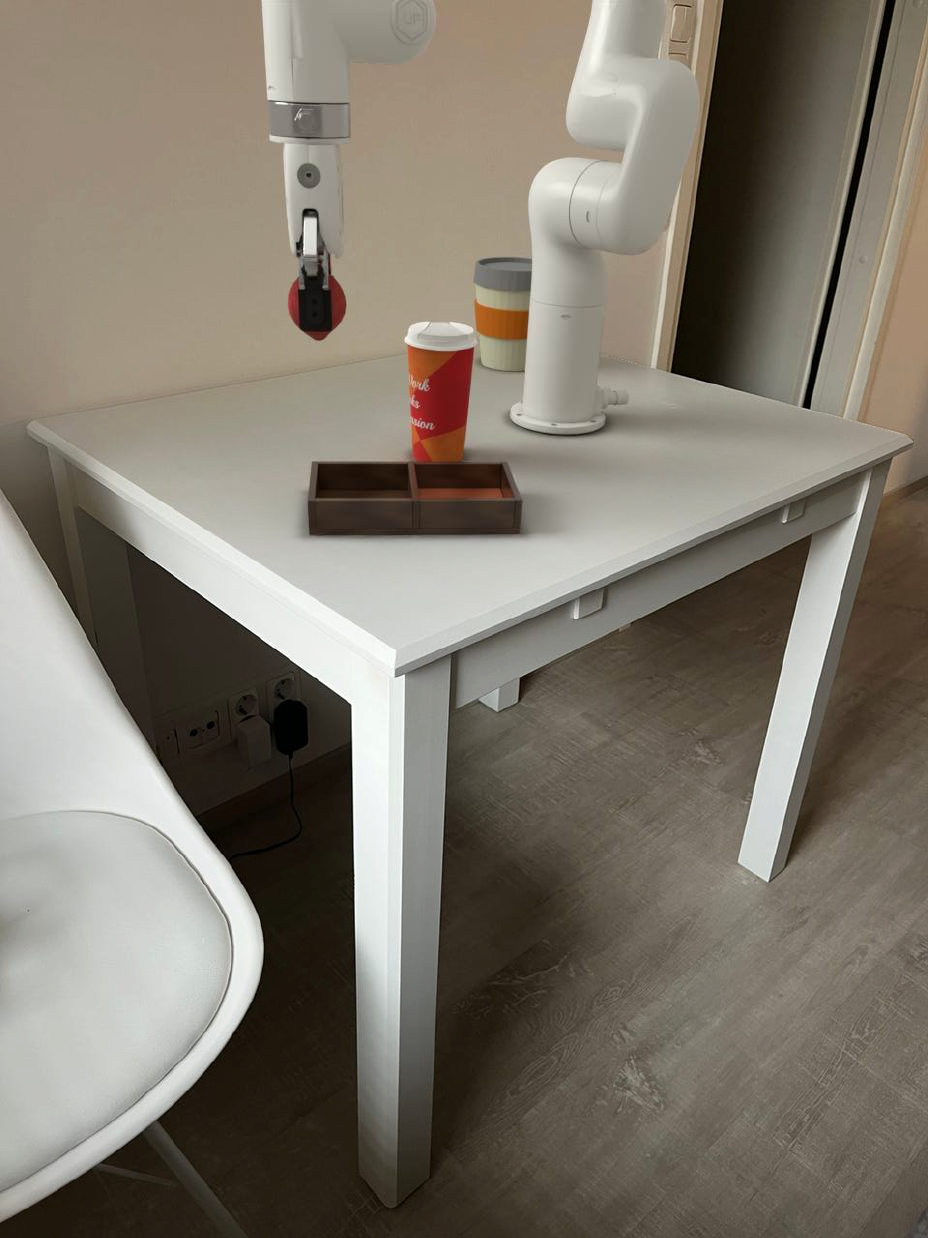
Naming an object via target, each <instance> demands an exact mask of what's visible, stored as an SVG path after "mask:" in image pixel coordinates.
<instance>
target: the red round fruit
mask: <svg viewBox="0 0 928 1238" xmlns="http://www.w3.org/2000/svg"><path fill="white" fill-rule="evenodd" d="M318 264H319V263H318ZM321 266H322V264H321ZM333 276H334V275H333V274H332V275H331V274H329V273H328V289H331V296H332V326H333V327H332V330H331V331H330V332H307V331H302V332H303V333H304V334H305V335H307V336H309V338H311V339H312V340H314V341H316V342H321V341H323V340H325V339H326V338H328V336H329V335H330V334H331V333H332V332H333V331H334V330H336V329H337V328H338V326H340V324H341V323H342V322H343V320H344V318H345V316H346V314H347V313H346V312H347V298H346V294H345V292H344V289H343V288H342V286H341V284H340V283H339V282H338V280H337V279H336V278H335V276H334V277H333ZM298 288H299V275H298V276H297V277H296V279H295V280H294V281H293V282H292V284H291V286H290V289H289V291H288V297H287V310H288V314H289V316H290V318H291V320H292V322H293V324H294V325H295V326H296V327H297V328H298V329H299V330H300V326H299V306H298Z"/></svg>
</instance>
